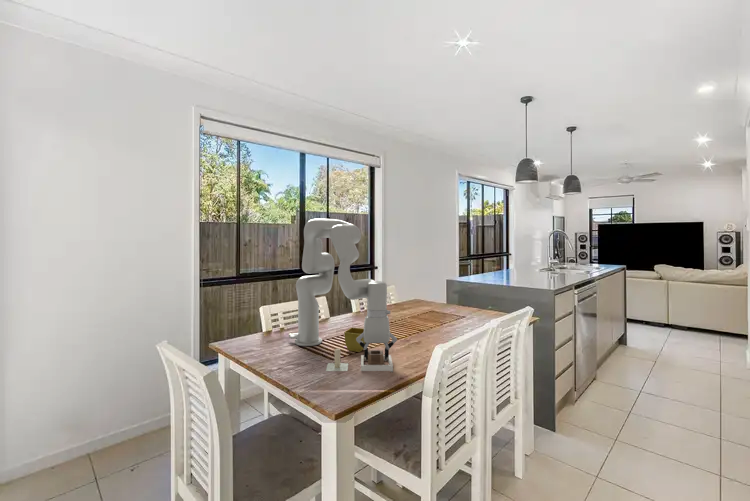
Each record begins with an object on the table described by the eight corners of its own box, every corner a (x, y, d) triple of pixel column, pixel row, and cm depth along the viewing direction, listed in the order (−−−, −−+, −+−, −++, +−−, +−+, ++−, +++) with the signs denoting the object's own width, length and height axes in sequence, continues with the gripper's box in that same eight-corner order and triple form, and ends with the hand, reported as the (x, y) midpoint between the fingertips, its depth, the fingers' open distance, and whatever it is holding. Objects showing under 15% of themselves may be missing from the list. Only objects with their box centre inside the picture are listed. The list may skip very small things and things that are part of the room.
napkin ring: (367, 362, 145) (367, 350, 145) (382, 362, 145) (382, 350, 145) (367, 368, 139) (367, 355, 139) (383, 367, 139) (383, 354, 139)
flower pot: (369, 348, 163) (369, 329, 163) (362, 355, 155) (362, 334, 154) (351, 346, 166) (351, 327, 166) (343, 352, 158) (343, 332, 157)
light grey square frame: (360, 372, 136) (360, 365, 135) (361, 361, 148) (361, 355, 147) (392, 372, 136) (393, 365, 136) (390, 361, 148) (390, 355, 148)
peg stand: (325, 372, 135) (325, 352, 135) (327, 364, 143) (328, 346, 143) (347, 372, 135) (347, 352, 135) (348, 364, 143) (348, 346, 143)
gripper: (398, 311, 145) (397, 355, 146) (354, 311, 144) (354, 355, 145) (400, 315, 137) (399, 362, 138) (354, 315, 137) (353, 362, 138)
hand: (376, 358), depth 142 cm, fingers open, 6 cm apart
